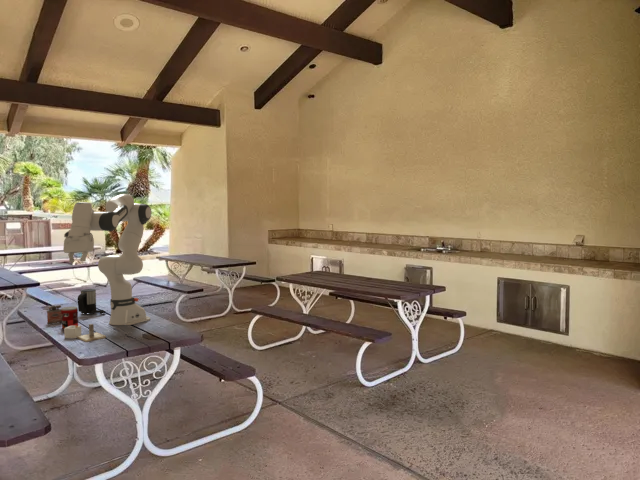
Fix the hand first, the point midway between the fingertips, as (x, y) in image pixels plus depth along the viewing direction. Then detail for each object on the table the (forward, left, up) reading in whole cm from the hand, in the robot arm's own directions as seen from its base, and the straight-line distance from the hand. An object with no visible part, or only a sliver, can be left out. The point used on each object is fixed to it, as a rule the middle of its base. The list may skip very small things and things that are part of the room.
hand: (77, 261), depth 231 cm
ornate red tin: (-8, -52, -40) cm, 66 cm away
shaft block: (-7, -3, -40) cm, 41 cm away
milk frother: (-33, -59, -40) cm, 78 cm away
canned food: (-9, -34, -40) cm, 53 cm away
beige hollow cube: (-2, -13, -40) cm, 42 cm away
